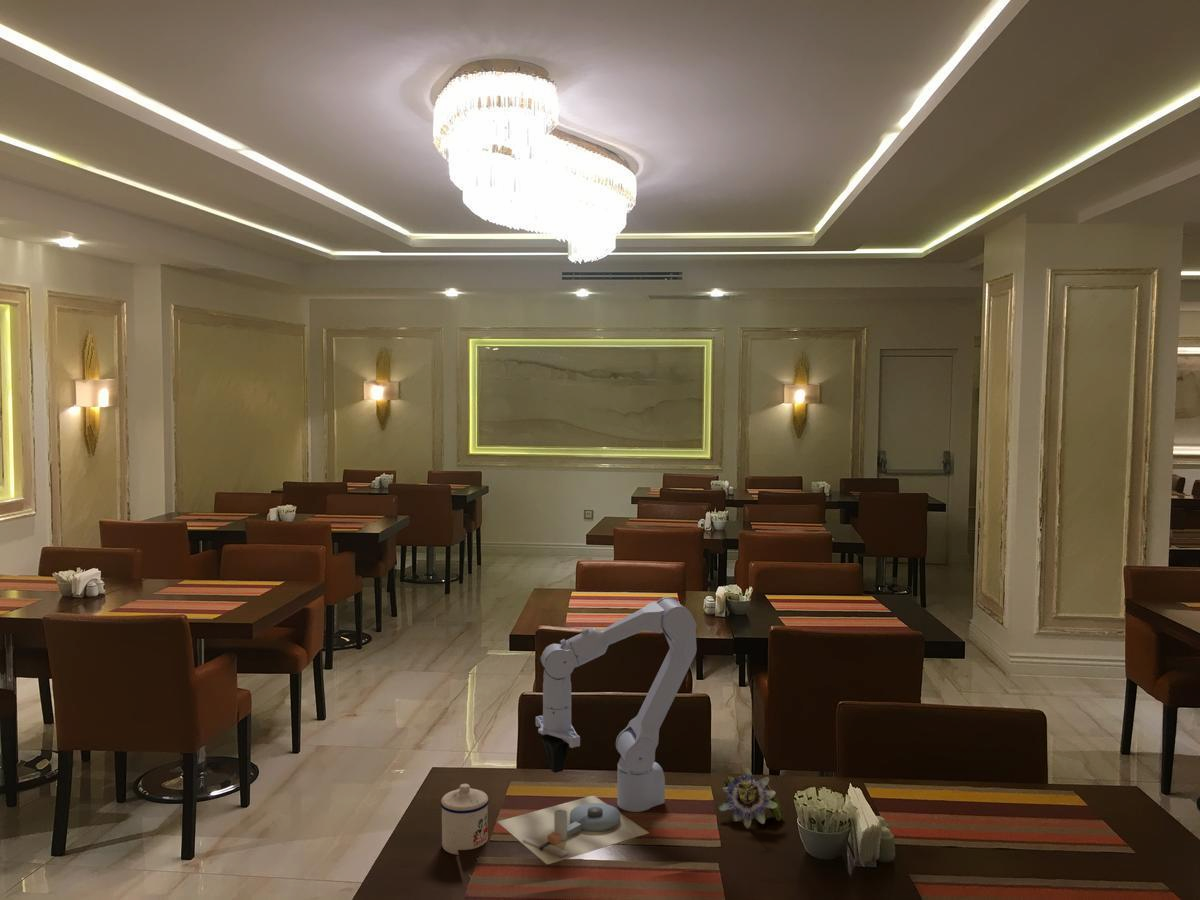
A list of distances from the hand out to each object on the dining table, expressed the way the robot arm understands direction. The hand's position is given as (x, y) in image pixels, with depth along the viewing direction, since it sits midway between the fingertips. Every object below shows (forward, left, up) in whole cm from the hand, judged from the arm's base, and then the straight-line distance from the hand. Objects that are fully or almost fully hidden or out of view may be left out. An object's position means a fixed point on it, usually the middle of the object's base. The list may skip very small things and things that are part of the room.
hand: (557, 770), depth 193 cm
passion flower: (-32, +22, -10) cm, 40 cm away
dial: (0, +9, -8) cm, 12 cm away
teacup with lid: (+20, 0, -10) cm, 22 cm away
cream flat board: (+1, +8, -9) cm, 12 cm away
